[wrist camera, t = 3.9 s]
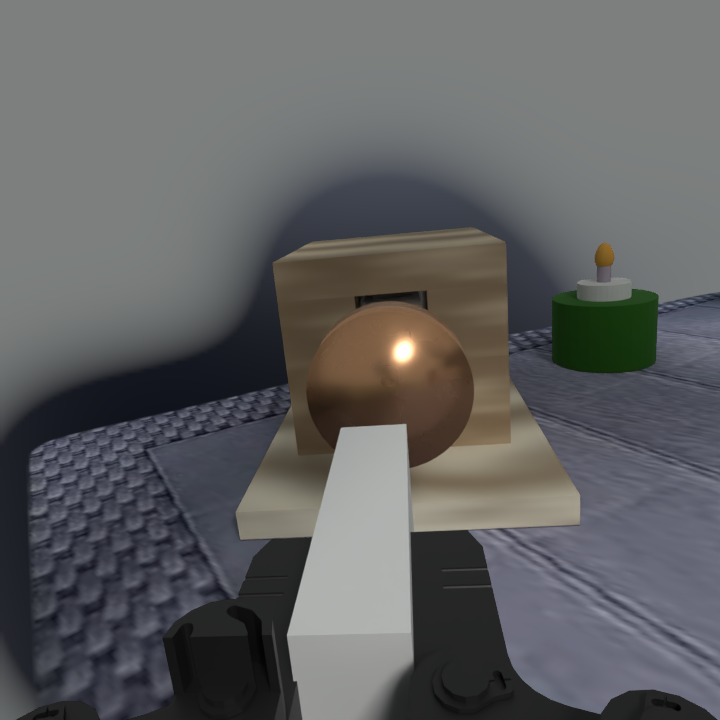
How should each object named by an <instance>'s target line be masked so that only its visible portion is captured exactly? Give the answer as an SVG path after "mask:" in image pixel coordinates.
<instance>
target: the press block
mask: <svg viewBox="0 0 720 720" xmlns="http://www.w3.org/2000/svg"><path fill="white" fill-rule="evenodd" d="M273 269H274V278H275V285H276V293H277V300H278V308H279V315H280V322H281V329H282V338H283V345H284V353H285V360H286V367H287V375H288V383H289V390H290V398H291V407H290V409H289V411H288V412H287V414H286V416H285V418H284V420H283V422H282V424H281V426H280V428H279V430H278V432H277V434H276V436H275V437H274V439H273V441H272V443H271V445H270V447H269V449H268V451H267V453H266V455H265V457H264V459H263V460H262V462H261V464H260V466H259V468H258V470H257V472H256V474H255V476H254V478H253V480H252V482H251V484H250V485H249V487H248V489H247V491H246V493H245V495H244V497H243V499H242V501H241V503H240V505H239V507H238V509H237V510H236V518H237V524H238V530H239V536H240V540H247V539H270V538H292V537H313V533H314V530H315V526H316V522H317V518H318V514H319V510H320V507H321V503H322V499H323V495H324V491H325V487H326V483H327V480H328V476H329V472H330V468H331V464H332V460H333V457H334V453H335V450H334V449H333V448H332V447H331V446H330V445H329V444H328V443H327V442H326V441H325V439H324V438H323V437H322V436H321V434H320V433H319V431H318V430H317V428H316V426H315V424H314V422H313V420H312V418H311V415H310V412H309V408H308V403H307V394H306V386H307V377H308V372H309V368H310V366H311V363H312V360H313V358H314V356H315V354H316V352H317V350H318V349H319V347H320V345H321V343H322V341H323V339H324V337H325V336H326V334H327V333H328V332H329V330H330V329H331V328H332V327H333V326H334V325H335V324H336V323H337V322H338V321H339V320H340V319H341V318H342V317H344V316H345V315H346V314H348V313H350V312H351V311H353V310H355V309H357V308H360V307H361V306H362V303H363V300H364V298H365V295H376V294H389V293H401V292H413V291H421V302H422V308H424V309H426V310H428V311H430V312H432V313H433V314H435V315H436V316H438V317H439V318H440V319H442V320H443V321H444V322H445V323H446V324H447V325H448V326H449V327H450V328H451V330H452V331H453V332H454V334H455V335H456V337H457V338H458V340H459V342H460V343H461V346H462V348H463V351H464V353H465V356H466V358H467V361H468V363H469V365H470V368H471V372H472V376H473V382H474V401H473V407H472V411H471V414H470V418H469V420H468V422H467V424H466V426H465V429H464V430H463V432H462V433H461V435H460V436H459V438H458V439H457V440H456V441H455V442H454V443H453V445H452V446H450V447H449V448H448V449H447V450H446V451H445V452H444V453H442V454H441V455H439V456H438V457H436V458H435V459H433V460H431V461H429V462H427V463H424V464H422V465H419V466H416V467H412V468H409V469H410V483H411V497H412V511H413V525H414V532H423V531H448V530H473V529H495V528H518V527H540V526H563V525H580V494H579V493H578V491H577V489H576V488H575V486H574V484H573V483H572V481H571V479H570V478H569V476H568V474H567V473H566V471H565V469H564V467H563V466H562V464H561V462H560V461H559V459H558V457H557V456H556V454H555V452H554V451H553V449H552V447H551V446H550V444H549V442H548V441H547V439H546V437H545V436H544V434H543V432H542V431H541V429H540V427H539V426H538V424H537V422H536V421H535V419H534V417H533V415H532V414H531V412H530V410H529V409H528V407H527V405H526V404H525V402H524V400H523V399H522V397H521V395H520V394H519V392H518V390H517V389H516V387H515V385H514V384H513V382H512V380H511V379H510V377H509V346H508V309H507V308H508V307H507V271H506V270H507V268H506V242H504V241H502V240H500V239H497V238H495V237H493V236H491V235H489V234H486V233H484V232H482V231H479V230H478V229H475V228H473V227H472V228H461V229H449V230H438V231H427V232H416V233H405V234H394V235H383V236H372V237H361V238H350V239H339V240H328V241H318V242H311V243H309V244H307V245H305V246H303V247H302V248H300V249H298V250H296V251H294V252H293V253H291V254H288V255H287V256H285V257H283V258H281V259H279V260H278V261H275V262H273Z"/></svg>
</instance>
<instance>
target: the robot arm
mask: <svg viewBox="0 0 720 720" xmlns="http://www.w3.org/2000/svg"><path fill="white" fill-rule="evenodd" d="M245 578H246V579H245V581H244V582H243V584H242V586H241V589H240V591H239V597H238V598H237V599H228V600H222V601H216V602H211V603H209V604H206V605H204V606H201V607H199V608H196V609H194V610H192V611H190V612H189V613H187V614H186V615H185V616H183V617H182V618H180V619H179V620H177V621H176V622H175V623H174V624H173V625H172V626H171V628H170V629H169V630H168V631H167V633H166V634H165V635H164V637H163V643H164V647H165V652H166V657H167V661H168V666H169V671H170V676H171V680H172V685H173V690H174V696H173V699H172V701H171V703H170V704H169V705H167V706H165V707H163V708H161V709H158V710H156V711H153V712H150V713H148V714H145V715H141V716H138V717H134V718H131V719H127V720H717V719H716V718H715V717H714V716H712V715H711V714H710V713H709V712H708V711H707V710H705V709H704V708H702V707H700V706H698V705H696V704H694V703H692V702H690V701H688V700H686V699H684V698H682V697H680V696H677V695H673V694H669V693H665V692H661V691H656V690H635V691H628V692H626V693H624V694H621V695H619V696H617V697H615V698H613V699H611V700H610V702H609V703H608V704H607V706H606V707H605V709H604V710H603V711H602V713H601V715H600V714H597V713H593V712H589V711H585V710H581V709H577V708H574V707H570V706H567V705H564V704H561V703H558V702H556V701H553V700H550V699H548V698H547V697H545V696H543V695H541V694H540V693H538V692H536V691H534V690H533V689H532V688H531V687H530V686H529V685H527V684H526V683H525V682H524V681H523V680H522V679H521V678H520V677H519V675H518V674H517V673H516V671H515V670H514V669H513V667H512V664H511V662H510V659H509V657H508V654H507V649H506V645H505V641H504V637H503V632H502V628H501V624H500V619H499V615H498V611H497V607H496V602H495V598H494V594H493V589H492V587H491V581H490V577H489V572H488V570H487V564H486V559H485V555H484V551H483V546H482V545H481V544H480V543H479V542H478V541H477V540H476V539H475V538H474V537H473V536H472V535H471V534H470V533H469V532H468V531H467V530H448V531H423V532H414V525H413V511H412V497H411V483H410V469H409V455H408V441H407V427H406V424H397V425H379V426H361V427H343V428H341V430H340V434H339V437H338V441H337V445H336V449H335V453H334V457H333V460H332V464H331V468H330V472H329V476H328V480H327V483H326V487H325V491H324V495H323V499H322V503H321V507H320V510H319V514H318V518H317V522H316V526H315V530H314V533H313V537H312V538H296V539H272V540H271V541H270V542H269V543H267V544H266V545H265V546H264V547H263V548H262V549H261V550H260V551H259V552H258V553H257V554H256V555H255V556H254V557H253V560H252V562H251V564H250V567H249V569H248V572H247V574H246V577H245ZM17 720H100V718H99V716H98V714H97V712H96V709H95V708H93V707H91V706H89V705H87V704H85V703H83V702H77V701H61V702H57V703H54V704H50V705H46V706H43V707H39V708H37V709H35V710H34V711H32V712H30V713H28V714H26V715H24V716H22V717H20V718H18V719H17Z"/></svg>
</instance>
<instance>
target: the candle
mask: <svg viewBox="0 0 720 720" xmlns="http://www.w3.org/2000/svg"><path fill="white" fill-rule="evenodd" d="M613 261H614V253H613V250H612V248H611V246H610V245H609V244H607V243H603V244H601V245H600V246H599V247H598V249H597V251H596V254H595V263H596V265H597V278H592V279H585V280H581V281H578V282H577V290H576V291H570V292H565V293H561V294H558V295H555V296H554V297H553V298H552V360H553V362H554V363H556V364H557V365H559V366H561V367H564V368H567V369H571V370H576V371H582V372H592V373H622V372H631V371H637V370H641V369H645V368H648V367H650V366H652V365H653V364H654V363H655V361H656V341H657V318H658V295H657V294H656V293H654V292H650V291H645V290H637V289H632V280H630V279H626V278H611V265H612V264H613Z"/></svg>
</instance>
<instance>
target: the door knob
mask: <svg viewBox="0 0 720 720" xmlns="http://www.w3.org/2000/svg"><path fill="white" fill-rule="evenodd" d="M306 394H307V403H308V408H309V412H310V415H311V418H312V420H313V422H314V424H315V426H316V428H317V430H318V431H319V433H320V434H321V436H322V437H323V438H324V439H325V441H326V442H327V443H328V444H329V445H330V446H331V447H332V448H333V449H334V450H335V449H336V445H337V441H338V437H339V434H340V430H341V428H343V427H361V426H379V425H397V424H406V427H407V441H408V455H409V468H412V467H416V466H419V465H422V464H424V463H427V462H429V461H431V460H433V459H435V458H436V457H438V456H439V455H441V454H442V453H444V452H445V451H446V450H447V449H448V448H449V447H450V446H452V445H453V443H454V442H455V441H456V440H457V439H458V438H459V436H460V435H461V433H462V432H463V430H464V429H465V426H466V424H467V422H468V420H469V418H470V414H471V411H472V407H473V401H474V382H473V376H472V372H471V368H470V365H469V363H468V361H467V358H466V356H465V353H464V351H463V348H462V346H461V343H460V342H459V340H458V338H457V337H456V335H455V334H454V332H453V331H452V330H451V328H450V327H449V326H448V325H447V324H446V323H445V322H444V321H443V320H442V319H440V318H439V317H438V316H436V315H435V314H433V313H432V312H430V311H428V310H426V309H424V308H422V307H421V304H420V298H419V293H418V291H413V292H401V293H389V294H376V295H365V298H364V300H363V303H362V306H361V307H360V308H357V309H355V310H353V311H351V312H350V313H348V314H346V315H345V316H344V317H342V318H341V319H340V320H339V321H338V322H337V323H336V324H335V325H334V326H333V327H332V328H331V329H330V330H329V332H328V333H327V334H326V336H325V337H324V339H323V341H322V343H321V345H320V347H319V349H318V350H317V352H316V354H315V356H314V358H313V360H312V363H311V366H310V368H309V372H308V377H307V386H306Z"/></svg>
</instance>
